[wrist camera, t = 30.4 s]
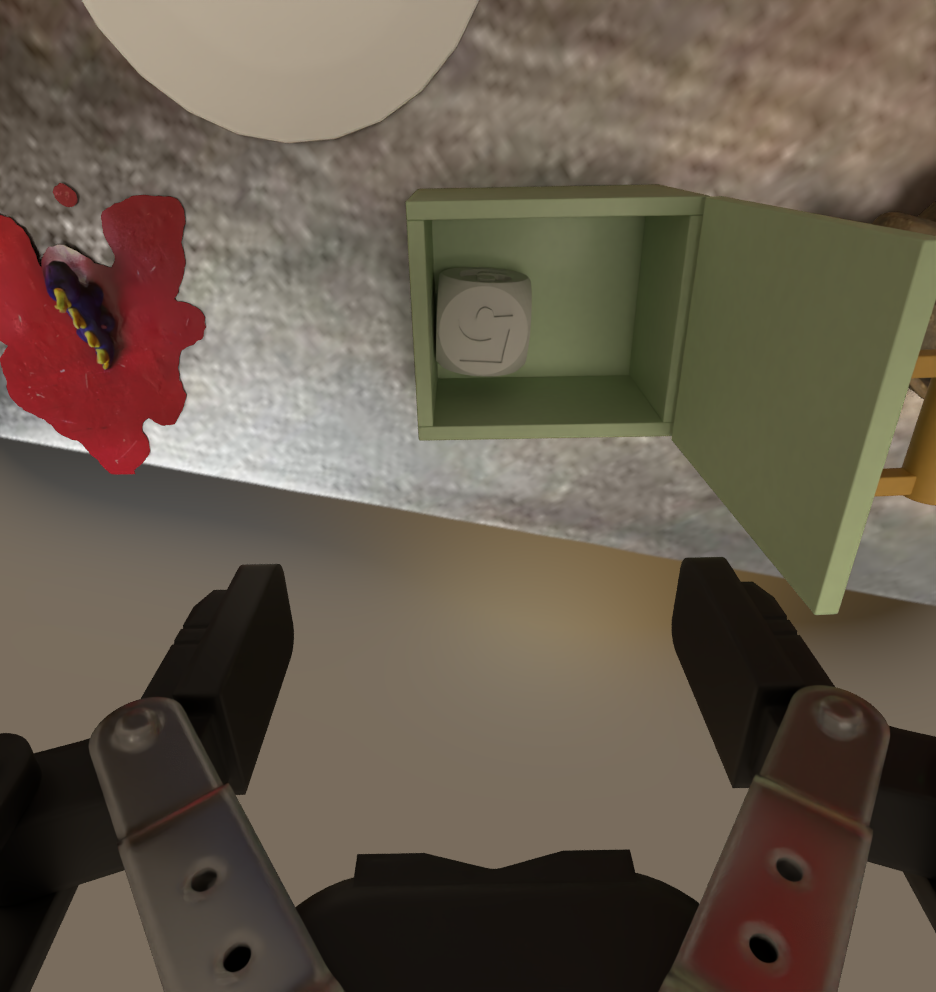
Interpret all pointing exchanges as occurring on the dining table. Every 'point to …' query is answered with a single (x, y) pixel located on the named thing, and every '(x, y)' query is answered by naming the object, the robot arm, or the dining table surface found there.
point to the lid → (806, 380)
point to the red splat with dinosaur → (100, 329)
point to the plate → (286, 58)
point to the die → (483, 320)
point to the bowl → (932, 223)
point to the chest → (561, 307)
